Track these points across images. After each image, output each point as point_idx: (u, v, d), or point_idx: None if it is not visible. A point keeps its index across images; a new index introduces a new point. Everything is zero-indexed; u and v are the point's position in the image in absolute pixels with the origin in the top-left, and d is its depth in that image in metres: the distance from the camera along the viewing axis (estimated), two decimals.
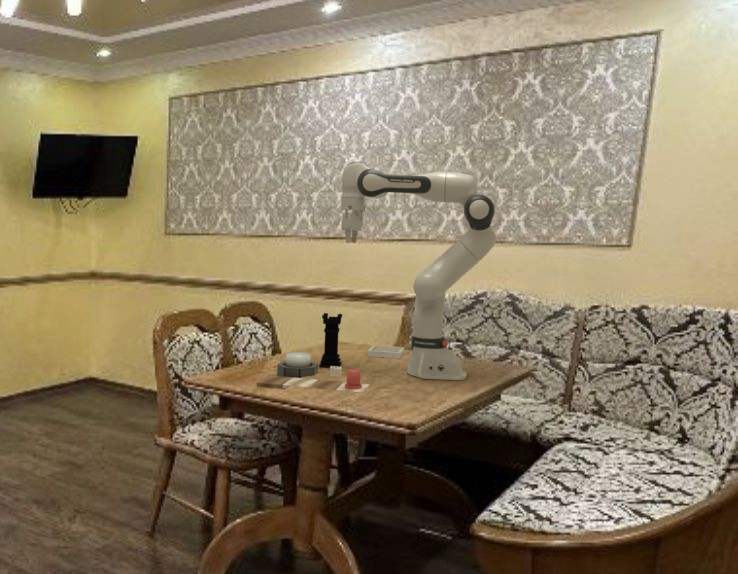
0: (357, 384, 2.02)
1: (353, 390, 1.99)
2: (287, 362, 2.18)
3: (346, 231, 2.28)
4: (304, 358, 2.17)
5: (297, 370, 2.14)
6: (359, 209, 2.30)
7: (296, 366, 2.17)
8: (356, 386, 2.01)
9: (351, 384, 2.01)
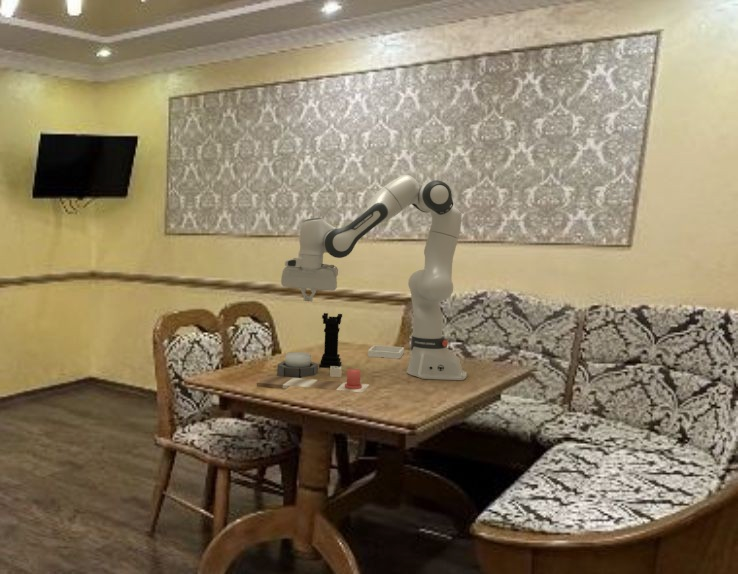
0: (357, 384, 2.02)
1: (353, 390, 1.99)
2: (287, 362, 2.18)
3: (315, 290, 2.22)
4: (304, 358, 2.17)
5: (297, 370, 2.14)
6: None
7: (296, 366, 2.17)
8: (356, 386, 2.01)
9: (351, 384, 2.01)
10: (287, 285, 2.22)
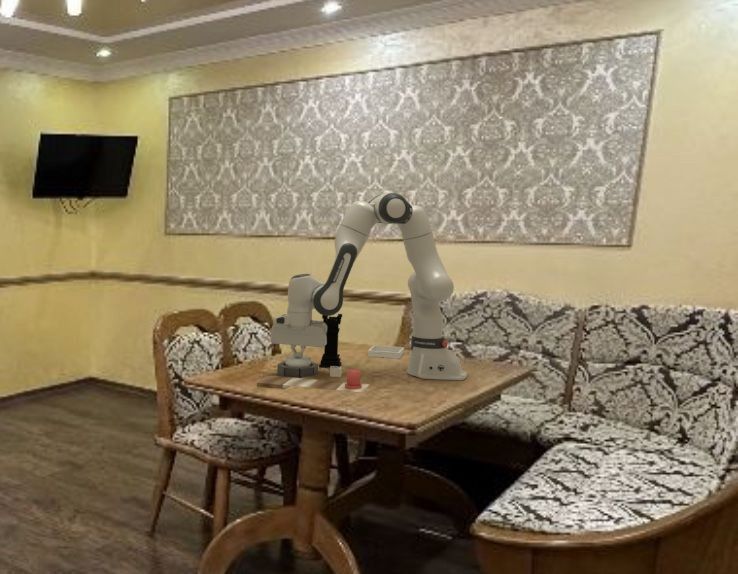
0: (357, 384, 2.02)
1: (353, 390, 1.99)
2: (287, 365, 2.18)
3: (304, 346, 2.20)
4: (304, 361, 2.17)
5: (297, 370, 2.14)
6: None
7: None
8: (356, 386, 2.01)
9: (351, 384, 2.01)
10: (276, 342, 2.20)
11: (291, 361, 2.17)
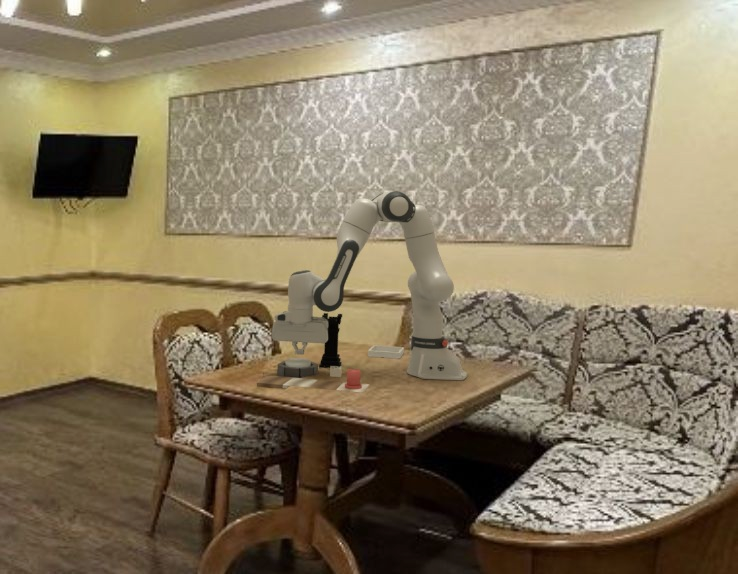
0: (357, 384, 2.02)
1: (353, 390, 1.99)
2: None
3: (306, 343, 2.20)
4: (304, 364, 2.17)
5: (297, 370, 2.14)
6: None
7: None
8: (356, 386, 2.01)
9: (351, 384, 2.01)
10: (278, 339, 2.20)
11: (291, 364, 2.17)
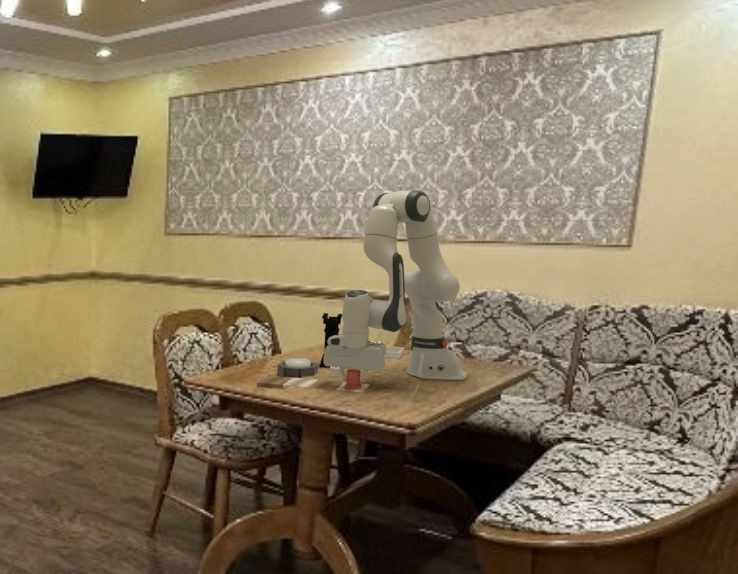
0: (357, 384, 2.02)
1: (353, 390, 1.99)
2: None
3: (367, 370, 2.01)
4: (304, 364, 2.17)
5: (297, 370, 2.14)
6: None
7: None
8: (356, 386, 2.01)
9: (351, 384, 2.01)
10: (330, 365, 2.02)
11: (291, 364, 2.17)
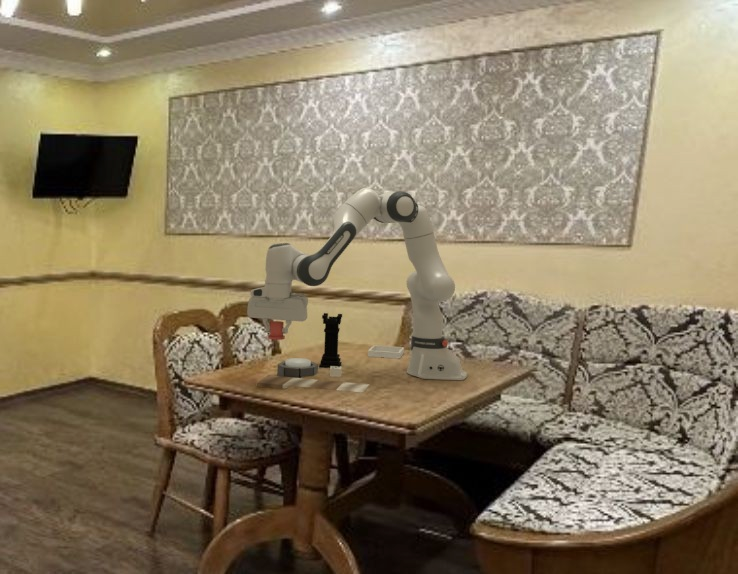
0: (279, 335, 2.05)
1: (353, 390, 1.99)
2: None
3: (290, 321, 2.05)
4: (304, 364, 2.17)
5: (297, 370, 2.14)
6: None
7: None
8: (278, 337, 2.05)
9: (273, 335, 2.05)
10: (254, 316, 2.06)
11: (291, 364, 2.17)
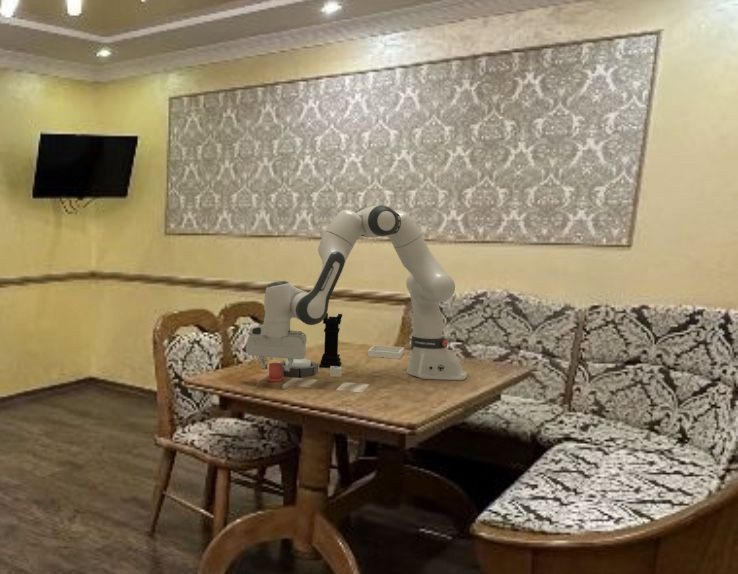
0: (278, 377, 2.06)
1: (353, 390, 1.99)
2: None
3: (292, 359, 2.06)
4: (304, 364, 2.17)
5: (297, 370, 2.14)
6: None
7: None
8: (277, 379, 2.06)
9: (272, 377, 2.06)
10: (253, 354, 2.07)
11: (291, 364, 2.17)
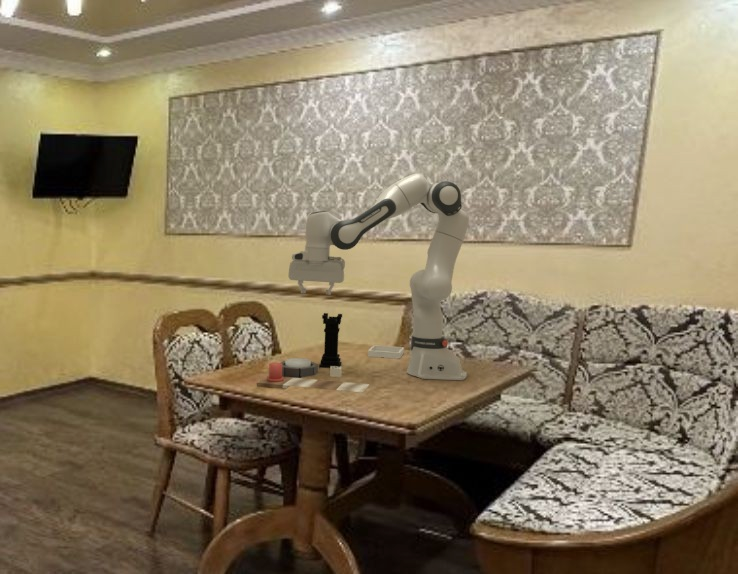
0: (278, 377, 2.06)
1: (353, 390, 1.99)
2: None
3: (333, 283, 2.22)
4: (304, 364, 2.17)
5: (297, 370, 2.14)
6: None
7: None
8: (277, 379, 2.06)
9: (272, 377, 2.06)
10: (294, 279, 2.23)
11: (291, 364, 2.17)
